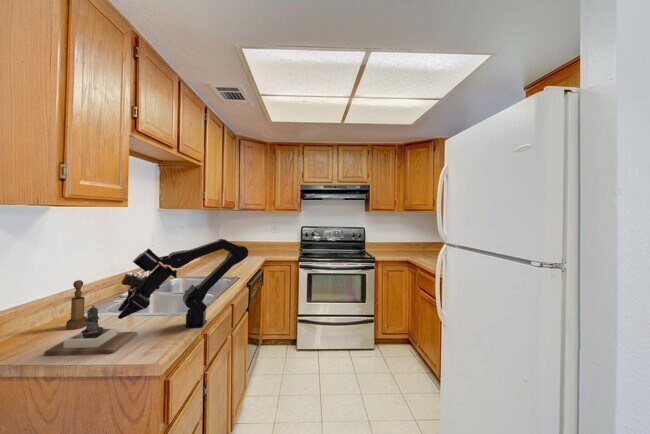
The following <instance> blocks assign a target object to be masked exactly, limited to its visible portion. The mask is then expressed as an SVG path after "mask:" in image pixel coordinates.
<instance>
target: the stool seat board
mask: <svg viewBox="0 0 650 434" xmlns="http://www.w3.org/2000/svg"><path fill="white" fill-rule="evenodd" d="M85 329H86V328H84V329H82V330H80V331H78V332H76V333H75V334H73V335H71V336H69V337H67V338H65V339H63V341H61V342H59V343H58V344H56V345H53V346H52V347H50V348H48V349H47V350H45V351H43V352H44V353H43V354H44V356H64V355H65V356H67V355H69V356H70V355H96V354H97V355H99V354H101V355H102V354H105V355H106V354H115V353H116V352H118V350H119V349H121V348H122V347H124V346H125V345H127V344H129V342H130V341H131V340H133V339H134V338H135V337H137V336H138V332H137V331H122V332H121V331H118V332H117V327H103V330H102V333H101V334H100V335H99V336H98V338H87V339H85V338H84V337H83V336H82V333H81V332H82V331H83V330H85Z"/></svg>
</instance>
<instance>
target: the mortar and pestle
mask: <svg viewBox="0 0 650 434" xmlns="http://www.w3.org/2000/svg"><path fill="white" fill-rule="evenodd" d="M72 286H73V287H74V289H75V291H74V292H73V293H74V297H72V298H71V299H70V300H71V308H70V310H71V311H70V319H68V320H67V321H66V325H65V329H66V330H78V329H83V328H85V327H87V321H86V319H87V316H85V302H86V301H85V300H86V299H85V296H82V294H83V291H82V290H81V289H82V287H83V286H84V281H83V280H81V279H80V280H79V279H77V280H75V281H74V282H73V283H72Z"/></svg>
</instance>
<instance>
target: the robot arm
mask: <svg viewBox="0 0 650 434" xmlns="http://www.w3.org/2000/svg"><path fill="white" fill-rule="evenodd" d="M220 250H224V251H226V252H228V253H227V255H226V257H225V259H224V260H223V261H221V262H220V264H219V265H218V266H217V267H216V268H214V270H212V271H211V273H209V274H208V275H207V276H206V277H205V278H204V279H203V280H202V281H201V282H200V283H199V284H197V285H195V284H191V285H190V286H189V287H188V288H187V290H185V291H184V294H183V295H182V301H183V304H184V305H185V307H187V309H188V310H187V312H186V314H185V328H202V327H204V326H205V325H206V323H207V322H208V320H207V319H206V318H207V317H206V316H207V315H206V313H207V312H206V311H207V307H208V306H207V305H206V303H205V302H204V300H205V298H206V296H207V294H208V292H209V291H210V290H211V289H212V288H213V287H214V286H215V284H216V283H218V282H219V280H221V278H223V276H225V275H226V273H227V272H228V271H230V269H232V268H233V267H234V266H235V265H237V264H239V263H241V262H242V261H244V260H245V259H246V258H247V257H248V256H249V249H248V248H247V247H246V246H244V245H240V244H235V243H232V242H230V241H228V240H227V239H224V238H219V239H218V240H216V241H212V242H209V243H206V244H204V245H200V246H198V247H194V248H191V249H185V250H179V251H172V252H170V253H169V254H168V255H163V256H158V255H157V254H155V253H154V252H153V251H152V249H150V248H147V249H146V250H145V251H143V252H142V253H139V255H137V256H136V257H135V258H134V259H133V261H132V263H133V264H135V265H136V266H138V267H139V268H140V269H141V270H143V271H144V272H150V273H149V274H148V275H145V276H144V277H142V278H141V277H139V276H137V275H134V274H128V273H125V274H124V276H123V278H122V280H121V284H122V285H123V286H128V288H127V296H126V298H125V299H124V300H123V302H122V304H121V305H120V306H119V308H118V309H117V310H118V311H119V312H120V313H119V314H118V316H117V319H119V320H122V319H124V318H126V317H127V316H128V317H129V316H130V315H133V314H135V313H137V312H139V311H142V310H144V309H147V308H148V307H149V306H150V305H151V304H150V303H151V302H150V301H151V300H150V298H152V297H151V296H152V294H153V293H154V292H156V291H158V290H159V289H161V286H162V285H163V284H164V283H165V282H166V281H167V280H168V279H169V278H170V277H171V276H172V277H173V278H174V279H176V278H177V273H178V270H177V269H180V268H182V267H184V266H185V265H188V264H189V263H190V262H192V261H193V260H195V259H199V258H202V257H204V256H206V255H209V254H212V253H215V252H218V251H220ZM162 264H163V265H162Z"/></svg>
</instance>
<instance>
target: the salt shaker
mask: <svg viewBox="0 0 650 434" xmlns="http://www.w3.org/2000/svg"><path fill="white" fill-rule="evenodd" d="M86 315H87V316H86V318H87V319H86V321H87V326H85V327H86V328H84V329H85V330H84V329H82V330H83V331H82V330H81V331H82V332H81V333H82V336H83V337H84V338H85V339H87V338H98V336H99V335H100V334H101V333H102V330H103V328H104V327H102V326H99V319H100V317H99V309H98V308H97V307H95V306H94V305H92V306H91V307H90V308H89V309H88V310H87V313H86Z"/></svg>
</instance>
